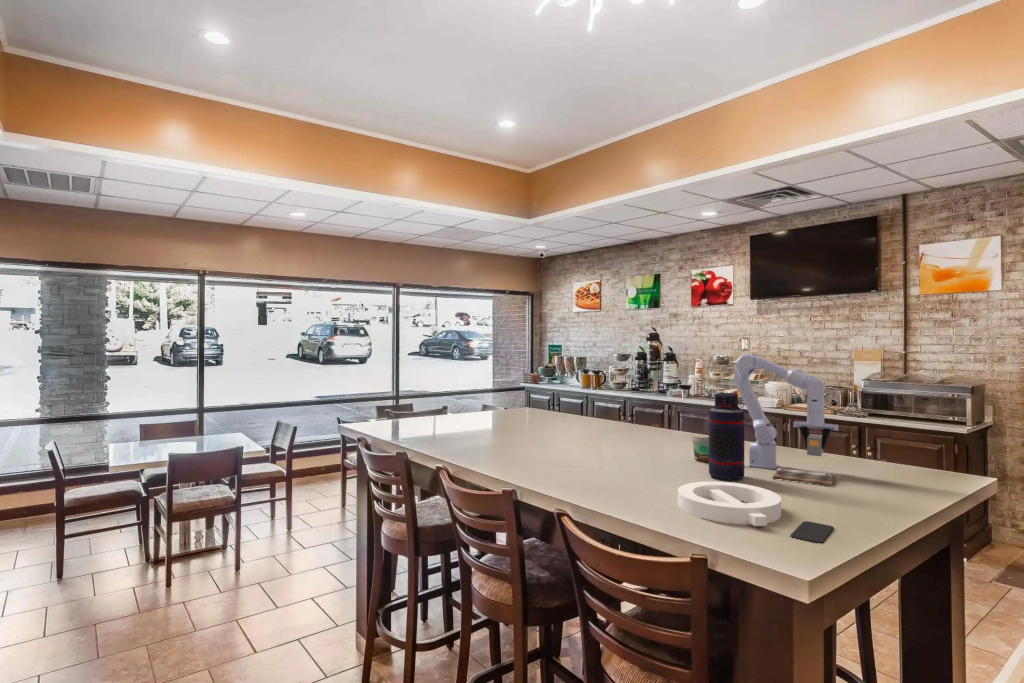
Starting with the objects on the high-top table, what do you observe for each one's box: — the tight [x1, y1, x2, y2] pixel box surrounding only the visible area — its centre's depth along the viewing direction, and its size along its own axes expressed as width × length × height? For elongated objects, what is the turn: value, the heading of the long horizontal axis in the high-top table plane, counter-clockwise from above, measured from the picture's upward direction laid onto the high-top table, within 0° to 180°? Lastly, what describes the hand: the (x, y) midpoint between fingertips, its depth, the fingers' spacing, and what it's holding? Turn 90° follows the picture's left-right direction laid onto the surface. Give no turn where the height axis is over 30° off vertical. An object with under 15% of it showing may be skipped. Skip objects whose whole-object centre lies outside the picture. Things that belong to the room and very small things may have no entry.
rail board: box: [772, 467, 836, 487], centre depth 200 cm, size 18×12×3 cm, turn 55°
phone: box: [790, 520, 835, 544], centre depth 145 cm, size 7×1×15 cm
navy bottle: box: [708, 392, 745, 482], centre depth 203 cm, size 14×12×30 cm
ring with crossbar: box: [677, 481, 782, 527], centre depth 165 cm, size 28×28×5 cm
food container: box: [690, 435, 710, 464], centre depth 227 cm, size 12×6×10 cm, turn 73°
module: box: [806, 433, 825, 457], centre depth 210 cm, size 4×8×6 cm, turn 145°
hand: (815, 448), depth 210 cm, fingers closed on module, 4 cm apart
